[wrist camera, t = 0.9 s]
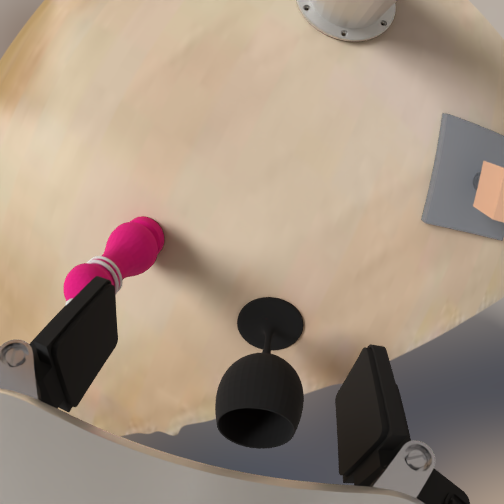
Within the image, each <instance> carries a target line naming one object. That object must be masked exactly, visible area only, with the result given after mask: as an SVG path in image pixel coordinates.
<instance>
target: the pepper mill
mask: <svg viewBox="0 0 504 504" xmlns="http://www.w3.org/2000/svg"><path fill="white" fill-rule="evenodd" d="M163 245H164V234H163V231H162V229H161V227H160V226H159V225H158V223H157V222H155V221H154V220H153V219H151V218H148V217H137V218H135V219H133V220H132V221H130V222H127V223H123V224H121V225H119V226H118V227H117V228H116V229H115V230H114V231H113V232H112V233H111V235H110V237H109V239H108V241H107V244H106V248H105V252H104V254H103V255H102V256H96V257H93V258H91V259H90V260H89V261H88V262H87V263H84V264H80V265H77V266H76V267H74V268H73V269H72V270H71V271H70V272H69V273H68V275H67V277H66V279H65V282H64V295H65V298H66V301H67V302H66V304H65V306H66V305H67V304H68V303H69V302H70V301H71V300H72V299H73V298H74V297H75V296H76V295H77V294H78V293H79V292H80V291H81V290H82V289H83V288H84V287H85V286H86V285H87V284H88V283H89V282H90V281H91V280H92V279H93V278H94V277H96V276H99V277H102V278H105V279H108V280H110V281H111V282H112V285H114V286H115V295H116V293H117V292H118V291H119V290H120V289H121V287H122V280H123V279H124V278H126V277H130V276H135V275H139V274H141V273H143V272H145V271H146V270H148V269H149V268H150V267H151V266H152V265H153V264H154V262H155V260H156V258H157V254H158V253H159V252H160V251H161V249H162V248H163Z"/></svg>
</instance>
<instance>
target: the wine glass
mask: <svg viewBox="0 0 504 504" xmlns="http://www.w3.org/2000/svg"><path fill="white" fill-rule="evenodd" d="M237 324H238V330H239V332H240V334H241V335H242V337H243V338H244V339H245V340H246V341H247V342H248V343H249V344H251V345H253V346H255V347H257V348H260V349H263V352H262V353H255V354H250V355H247V356H245V357H243V358H241V359H239V360H238V361H236V362H235V363H234V364H232V365H231V366H230V367H229V368H228V370H227V371H226V373H225V374H224V376H223V377H222V379H221V382H220V384H219V387H218V390H217V395H216V406H215V410H216V421H217V427H218V430H219V431H220V433H221V434H222V435H223V436H224V437H225V438H227V439H228V440H230V441H232V442H234V443H236V444H239V445H242V446H245V447H250V448H272V447H277V446H280V445H283V444H285V443H287V442H288V441H289V440H291V439H292V437H293V435H294V434H295V431H296V429H297V427H298V424H299V421H300V418H301V414H302V410H303V402H304V396H303V388H302V384H301V381H300V378H299V376H298V374H297V373H296V371H295V370H294V368H293V367H292V366H291V365H290V364H289V363H288V362H286V361H285V360H284V359H282V358H280V357H278V356H276V355H273V354H271V350H280V349H284V348H286V347H289V346H290V345H292V344H294V343H295V342H296V341H297V340H298V338H299V337H300V335H301V334H302V330H303V320H302V316H301V314H300V313H299V311H298V310H297V309H296V308H295V307H294V306H293V305H292V304H290V303H289V302H287V301H285V300H282V299H279V298H272V297H266V298H259V299H256V300H253V301H251V302H249V303H248V304H247V305H245V306H244V307H243V309H242V310H241V312H240V313H239V316H238V321H237Z"/></svg>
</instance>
